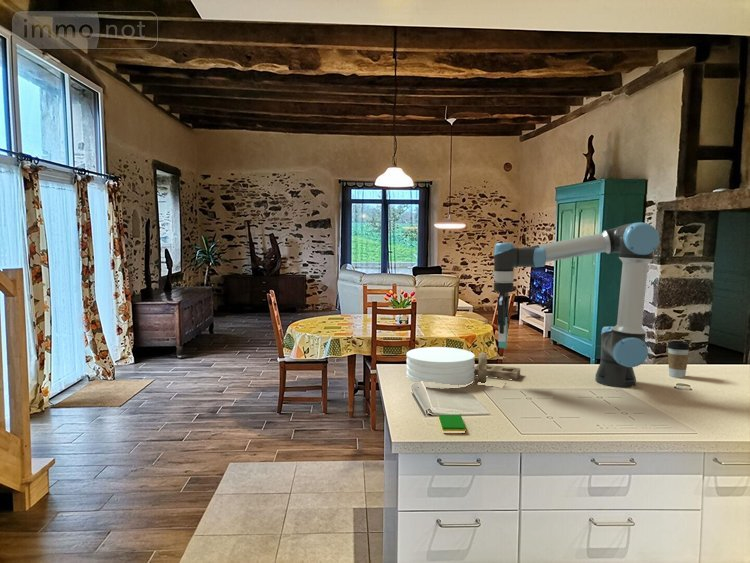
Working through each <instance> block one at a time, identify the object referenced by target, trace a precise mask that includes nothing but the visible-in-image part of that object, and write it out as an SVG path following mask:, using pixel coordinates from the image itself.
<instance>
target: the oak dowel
mask: <svg viewBox="0 0 750 563" xmlns="http://www.w3.org/2000/svg"><path fill="white" fill-rule="evenodd" d="M487 359H488V353H487V352H479V353H478V364H479V373H478V378H477V380H478V381H477V382H481V383H485V382H486V380H487V378H486V376H487V365H488V360H487Z"/></svg>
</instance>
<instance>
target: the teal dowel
mask: <svg viewBox="0 0 750 563" xmlns="http://www.w3.org/2000/svg"><path fill="white" fill-rule="evenodd" d="M505 325H506V342H501V341H498V348H499V349H507V348H508V323H507V317H505Z"/></svg>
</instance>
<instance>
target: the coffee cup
mask: <svg viewBox="0 0 750 563" xmlns="http://www.w3.org/2000/svg"><path fill="white" fill-rule="evenodd" d="M690 350H691V347H690V344H689V342H686V341H679V340H670V341H668V344H667V360H668V361H667V362H668V375H669V377H671V378H675V379H685V378H686V373H687V368H688V362H689V351H690Z"/></svg>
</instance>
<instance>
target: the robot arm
mask: <svg viewBox="0 0 750 563" xmlns="http://www.w3.org/2000/svg"><path fill="white" fill-rule="evenodd" d="M659 244H660V234H659V232H658V230H657V229H656V228H655V227H654V226H653V225H652V224H650V223H648V222H647V223H646V222H633V223H631V222H630V223H625V224H623V225H620V226H617V227H614V228H609V229H606V230H605V229H603V231H602V232H601V233H597V234H592V235H587V236H581V237H574V238H569V239H565V240H564V239H563V240H558V241H553V242H552V241H551V242H547V243H543V244H538V245H532V246H524V247H523V246H522V247H515V243H514V242H498V243H496V244H495V245H494V253H493V266H494V267H493V271H494V272H493V273H492V276H494V277H493V281H494V283H493V292H494V293H498V296H497V300H496V302H497V304H496V305H497V306H496V307H497V323H495V324H496V326H497V329H498V331H497V332H498V333H497V334H498V336H497V338H498V340H497V342H499V341H501V342H506V325H505V317H507V324H510V320H509V314H510V313H509V311H510V310H509V309H510V308H509V307H510V296H509V293H513V292H514V279H515V276H514V275H515V274H514V273H515V270H514V268H519V267H520V268H542V267H545V266H546V263H548V262H553V261H554V262H555V261H559V260H566V259H571V258H577V257H584V256H589V255H594V254H600V253H606V254H608V255H610V254H614V253H615V254H616V253H617V254H618V259H619V260H620V261H621V263H622V267H621V274H620V275H621V277H620V289H619V298H618V299H619V300H618V309H617V310H618V311H617V319H616V320H617V321H616V325H614V326H603V327H602V329H601V333H600V335H601V339H600V340H601V341H600V343H601V344H600V363H599V365H598V368H597V370H596V372H595V378H594V380H595V382H597V383H599V384H601V385H604V386H609V387H610V386H611V387H617V388H618V387H619V388H631V387H634V386H636V385H637V377H636V374H635V371H634V368H635V367H639V366H641V365H642V364H643V363H645V361H646V360H647V358H648V356H649V349H648V345H647V343H646V336H647V332H646V330H645V329H644V328H643V321H644V320H643V319H644V308H645V301H646V300H645V299H646V290H647V278H648V270H649V269H648V268H649V264H650V263H651V262H652V261H653V260H654V255H655V251H656V249H657V248H658V246H659Z"/></svg>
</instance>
